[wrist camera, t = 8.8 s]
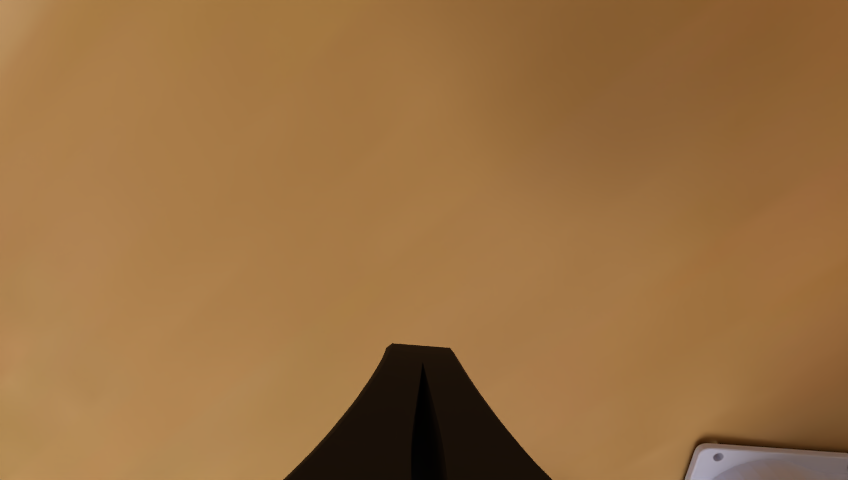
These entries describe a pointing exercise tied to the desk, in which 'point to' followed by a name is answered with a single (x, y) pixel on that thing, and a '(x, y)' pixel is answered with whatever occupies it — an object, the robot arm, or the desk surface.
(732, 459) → the robot arm
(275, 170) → the desk surface
